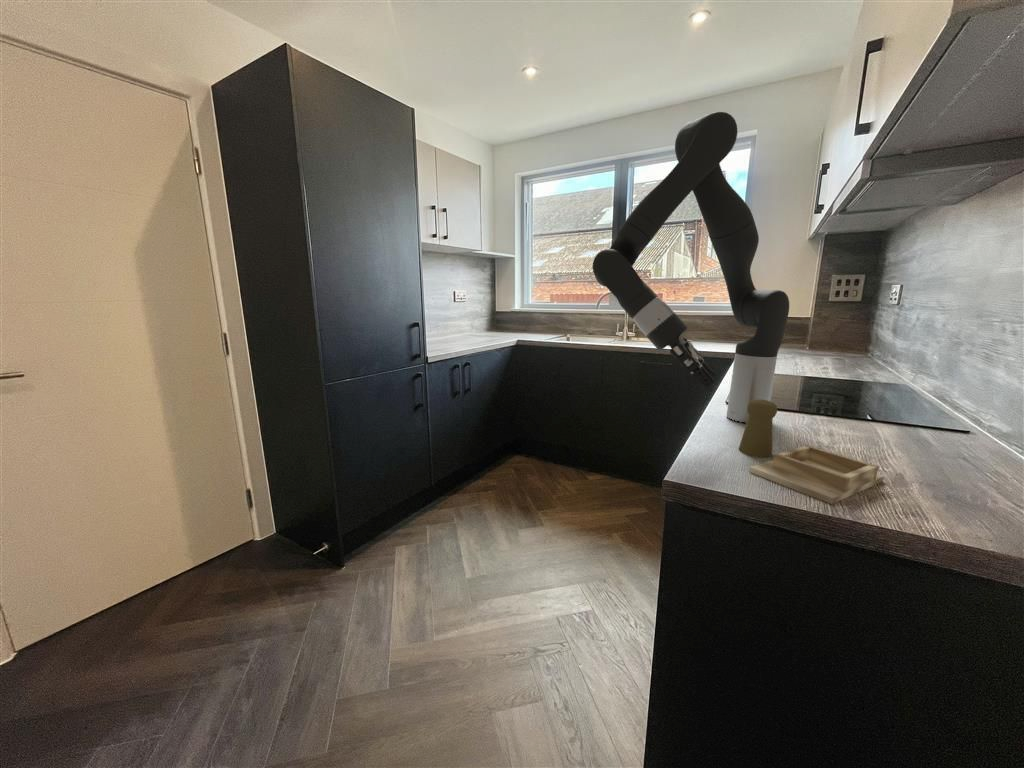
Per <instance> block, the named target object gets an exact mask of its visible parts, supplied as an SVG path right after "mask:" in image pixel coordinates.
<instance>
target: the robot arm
mask: <svg viewBox="0 0 1024 768" xmlns="http://www.w3.org/2000/svg"><path fill="white" fill-rule="evenodd" d="M737 137H738V124H737V122H736V119H735V117H733V115H731V114H729V113H728V112H725V111H715V112H711V113H707V114H706V115H703V116H701V117H698V118H696V119H694V120H693V119H692V120H691V121H689V122H688V123H686V124H684V125H683V126H682V127H681V128H680V129H679V131H678V133H677V135H676V137H675V138H676V139H675V143H674V152H675V153H674V154H675V156H676V159H677V160H676V161H677V162H678V163H676V165H675V166H674V167H673V168H672V170H671V171H670V172H669V173H668V174H667V175H666V176H665V177H664V178H663V179H662V180H661V182H659V183H658V184H657V185H656V186H655V187H654V188H652V189H651V190H650V191H649V192H648V193H647V195H646V196H644V198H643V199H642V200H641V201H640V202H639V203H638V204H637V205H636V207H635V208H633V211H632V212H631V213H630V214H629V216H628V217H627V218H626V220H625V221H624V222H623V224H622V225H621V226H620V229H619V230H618V233H617V235H616V239H615V240H614V242H612V243H613V244H611V246H610V247H609V248H606V249H605V248H604V249H603V250H600V251H599V252H597V254H596V255H595V256H594V258H593V260H592V261H593V262H592V273H593V274H594V277H595V279H596V281H597V283H599V284H600V285H601V286H603V287H605V288H607V290H608V291H609V292H610V293H612V295H613V296H614V297H615V299H617V302H618V303H619V304H620V306H621V308H622V309H623V310H624V311H625V312H626V313H627V315H628V316H629V317H630V318H631V319H632V320H633V322H634V323H635V324H636V326H637V328H638V329H639V330H640V331H641V332H642V333H643V334H644V335H645V337H646V338H647V339H648V340H649V341H650V342H651V344H652V345H653V346H654V347H655V348H656V350H658V351H662V350H663V349H665V348H666V347H668V346H669V347H670V350H669V351H670V354H671V355H672V356H673V357H674V358H675V359H676V360H677V361H678V362H679V364H680V365H681V366H682V367H683V368H684V369H685V370H686V372H687V373H688V374H691V375H694V377H695V378H696V379H697V380H698V381H699V382H700V384H701V385H702V386H703V387H704V388H709V387H710V386H711V385H713V384H714V383H715V379H714V377H715V375H716V373H715V371H713V369H711V368H710V366H709V365H708V364H707V363H706V362H705V360H704V358H703V355H702V354H701V353H700V352H699V350H697V348H695V347H694V345H693V343H692V342H691V341H690V340H688V339H687V338H685V337H684V338H682V335H683V333H685V332H686V331H687V330H688V326H687V324H686V323H685V322H684V321H683V320H682V319H681V318H680V316H678V315H677V314H676V312H675V311H674V310H673V309H672V308H671V307H670V306H669V305H668V304H667V303H666V302H665V301H664V300H662V299H661V298H660V297H659V296H658V295H657V294H656V292H655V291H653V289H652V288H651V287H650V286H649V285H648V284H647V283H646V282H645V281H644V280H643V279H642V278H641V277H640V276H639V273H637V271H636V269H635V268H634V267H633V266H634V265H635V263H636V262H637V260H638V258H639V256H640V255H641V253H642V252H643V251H644V249H645V248H646V247H647V246H648V245H649V244H650V242H651V241H652V240H653V238H655V236H656V235H657V234H658V232H659V231H660V230H661V228H662V227H663V226H664V224H665V223H666V222H667V220H668V219H670V217H671V215H672V214H673V213H674V212H675V210H677V208H678V207H679V205H680V204H681V203H683V201H684V200H685V199H686V198H687V197H688V196H689V195H690V193H693V195H694V197H695V200H696V202H697V206H698V208H699V211H700V213H701V217H702V219H703V222H704V224H705V227H706V230H707V234H708V236H709V239H710V241H711V245H712V247H713V250H714V253H715V255H716V257H717V260H718V263H719V266H720V268H721V272H722V275H723V278H724V281H725V286H726V288H727V289H726V290H727V293H728V297H729V302H730V306H731V311H732V314H733V316H734V319H735V320H736V322H737V323H738V324H739V325H740V326H744V327H747V328H749V327H750V328H756V330H755V332H754V335H753V336H752V337H750V338H748V339H744V340H741V341H739V342H737V343H736V346H735V353H734V360H733V366H732V373H731V381H730V389H729V394H728V395H729V396H728V402H727V403H728V404H727V410H726V415H727V416H726V418H727V417H728V418H727V419H729V418H730V419H729V420H731V419H732V420H731V421H734V420H735V421H734V422H737V421H739V422H738V423H742V422H745V423H744V424H747V420H748V417H749V413H748V412H747V406H748V403H749V402H750V401H751V400H757V399H761V400H767V401H771V402H772V395H773V390H774V376H775V372H776V367H777V366H776V365H777V359H778V354H779V349H780V347H781V345H782V343H783V340H784V336H785V330H786V328H787V327H786V326H787V322H788V319H789V313H790V312H789V311H790V300H789V299H790V298H789V296H788V294H787V293H786V292H785V291H783V290H778V289H775V290H774V289H757V288H755V287H756V286H755V285H754V282H753V279H752V274H751V268H752V264H753V261H754V258H755V256H756V253H757V249H758V246H759V240H760V238H759V232H758V228H757V225H756V222H755V219H754V216H753V213H752V211H751V209H750V207H749V206H748V204H747V203H746V201H745V200H744V199H743V197H741V195H739V193H738V192H737V191H736V190H735V189H734V188H733V187H732V186H731V185H730V183H729V182H728V179H726V177H725V175H724V173H723V170H722V166H721V162H722V161H723V160H724V159H725V158H726V157H727V156H728V155H729V153H731V151H732V150H733V148H734V146H735V144H736V141H737Z"/></svg>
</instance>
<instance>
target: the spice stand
mask: <svg viewBox="0 0 1024 768" xmlns="http://www.w3.org/2000/svg"><path fill="white" fill-rule="evenodd" d="M878 470H879V465H876V464H872V463H869V462H867V461H863V460H859V459H857V458H853V457H849V456H846V455H842V454H838V453H835V452H832V451H828V450H824V449H822V448H818V447H815V446H811V445H808V444H805V445H804V446H803V445H802V446H799V447H796V448H793V449H789V450H786V451H781V452H779V453H776V454H774V457H773V459H771V460H768V461H764V462H762V463H757V464H754V465H751V466H749V470H748V471H749V473H751V474H754V475H756V476H759V477H761V478H765V479H767V480H769V481H771V482H775V483H777V484H780V485H782V486H784V487H787V488H790V489H792V490H795V491H797V492H799V493H802V494H805V495H808V496H810V497H812V498H814V499H818V500H820V501H822V500H823V501H822V502H825V503H829V504H831V505H833V504H835V503H838V502H839V501H842V500H844V499H847V498H848V497H849V498H850V497H851V496H853V495H855V494H858V493H860V492H863V491H864V490H867V489H869V488H871V487H873V486H875V485H878V484H880V483H882V482H884V479H885V475H883V474H879V473H878Z"/></svg>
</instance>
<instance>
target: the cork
mask: <svg viewBox="0 0 1024 768" xmlns="http://www.w3.org/2000/svg"><path fill="white" fill-rule="evenodd" d="M747 412H748V413H749V417H748V420H747V423H745V424H746V425H745V427H744V430H743V434H742V437H741V440H740V444H739V447H738V451H740V453H742V454H744V455H747V456H751V457H755V458H756V457H757V458H761V459H762V458H764V459H765V458H771V457H772V456H773V420H774V418H775V416H776V415H777V413H778V407H777V404H776V403H775V402H773V401H772V400H771V401H767V400H761V399H757V400H751V401H750V402H749V403H748V406H747Z"/></svg>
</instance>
